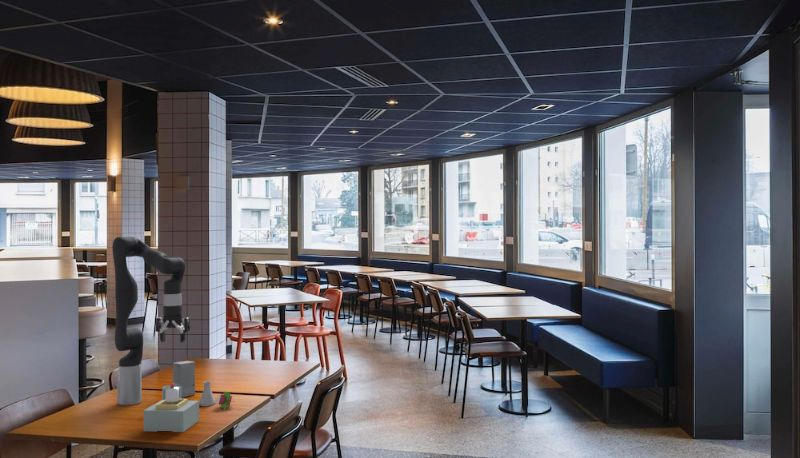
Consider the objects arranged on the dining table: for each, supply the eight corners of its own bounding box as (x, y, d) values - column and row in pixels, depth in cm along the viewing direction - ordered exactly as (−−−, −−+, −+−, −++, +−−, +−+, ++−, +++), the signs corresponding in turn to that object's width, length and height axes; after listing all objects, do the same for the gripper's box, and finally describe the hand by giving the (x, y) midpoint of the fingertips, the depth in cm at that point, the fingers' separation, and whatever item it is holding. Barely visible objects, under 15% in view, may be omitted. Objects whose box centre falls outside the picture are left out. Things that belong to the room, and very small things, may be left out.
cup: (163, 413, 246) (163, 390, 246) (161, 408, 253) (161, 385, 253) (182, 410, 250) (182, 387, 250) (180, 406, 257) (180, 383, 257)
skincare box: (180, 398, 268) (180, 364, 268) (171, 396, 272) (171, 362, 273) (196, 394, 275) (196, 361, 275) (187, 392, 279) (187, 359, 279)
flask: (210, 407, 255) (210, 384, 255) (195, 406, 256) (195, 383, 257) (218, 402, 262) (218, 380, 262) (204, 401, 264) (204, 379, 264)
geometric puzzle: (229, 398, 261) (220, 386, 257) (240, 400, 257) (231, 388, 253) (219, 411, 256) (210, 399, 252) (230, 413, 252) (221, 401, 248)
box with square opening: (143, 431, 224) (143, 406, 224) (161, 419, 238) (161, 396, 238) (183, 432, 223) (183, 407, 223) (199, 420, 237) (199, 397, 237)
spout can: (163, 411, 228) (163, 385, 228) (168, 408, 233) (169, 382, 233) (175, 412, 228) (175, 385, 228) (180, 408, 233) (181, 382, 233)
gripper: (152, 305, 245) (152, 343, 245) (184, 305, 244) (184, 343, 244) (161, 303, 253) (161, 340, 253) (192, 303, 252) (192, 340, 252)
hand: (172, 341), depth 248 cm, fingers open, 8 cm apart
